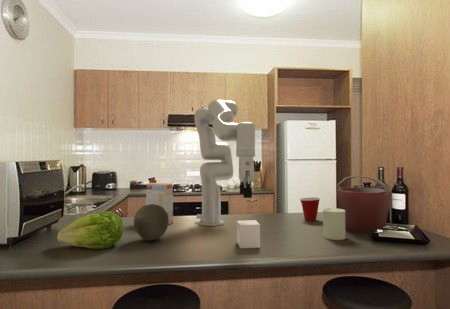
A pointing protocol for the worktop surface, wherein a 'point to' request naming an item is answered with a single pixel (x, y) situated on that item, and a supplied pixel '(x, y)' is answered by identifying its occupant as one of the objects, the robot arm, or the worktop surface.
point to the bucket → (364, 206)
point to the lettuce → (93, 231)
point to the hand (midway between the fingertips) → (245, 195)
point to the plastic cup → (310, 208)
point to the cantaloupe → (151, 222)
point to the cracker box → (161, 197)
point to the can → (334, 223)
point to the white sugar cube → (248, 234)
